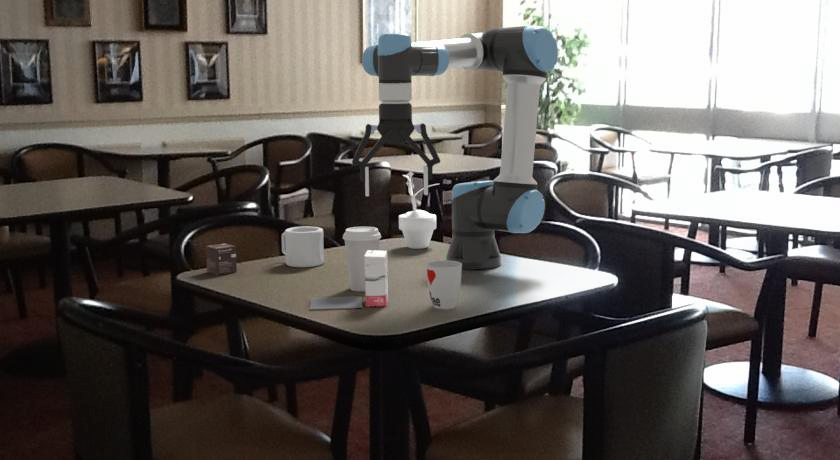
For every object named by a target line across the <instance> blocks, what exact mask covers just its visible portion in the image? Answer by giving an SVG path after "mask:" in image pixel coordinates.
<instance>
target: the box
mask: <svg viewBox="0 0 840 460" xmlns="http://www.w3.org/2000/svg"><path fill="white" fill-rule="evenodd" d="M236 253H237V250H236V245H232V244H228V243H221V244H219V243H218V244H211V245H206V246H205V254H206V256H205V258H206V272H207V273H210V274H213V275H217V276H221V275H226V274H232V273H237V272H238V268H237V254H236Z"/></svg>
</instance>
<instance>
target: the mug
mask: <svg viewBox="0 0 840 460" xmlns="http://www.w3.org/2000/svg"><path fill="white" fill-rule="evenodd" d="M324 251H325V250H324V229H323V228H322V227H319V226H308V225H307V226H305V225H304V226H303V225H302V226H292V227H289V228H286V229H285V231H284V232H283V233H281V252H282V254H284V255H285V264H286V265H287V266H288V267H293V268H314V267H318V266H321V265H323V264H324V262H325V253H324Z"/></svg>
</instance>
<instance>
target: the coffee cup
mask: <svg viewBox="0 0 840 460" xmlns="http://www.w3.org/2000/svg"><path fill="white" fill-rule="evenodd" d="M381 238H382V235H381V232H379V229H378V228H377V227H375V226H353V227H348V228H346V229H345V232H344V233H343V235H342V240H344V245H345V247H344V248H345V253H346V264H347V271H348V280H349V282H348V283H349V289H350V290H351V291H353V292H365V259H364V258H365V254H366V252H367V250H379V251H380V239H381Z"/></svg>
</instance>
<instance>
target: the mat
mask: <svg viewBox="0 0 840 460" xmlns="http://www.w3.org/2000/svg"><path fill="white" fill-rule="evenodd" d="M355 308H362V309H363V297H362V295H361V296H360V295H359V296H357V295H356V296H355V295H353V296H328V297H327V296H326V297H325V296H324V297H311V299H310V304H309V311H329V310H335V311H336V310H356V309H355Z"/></svg>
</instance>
